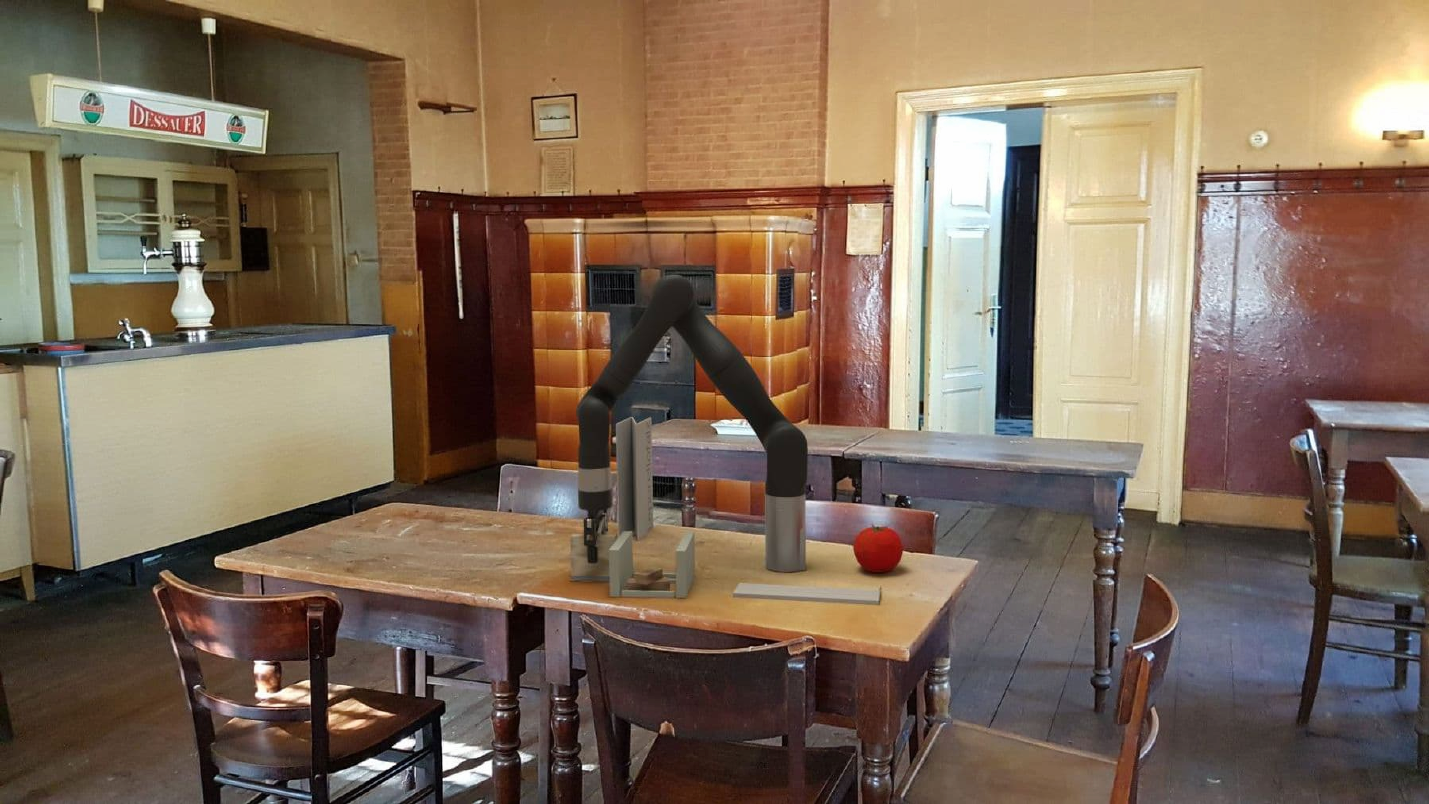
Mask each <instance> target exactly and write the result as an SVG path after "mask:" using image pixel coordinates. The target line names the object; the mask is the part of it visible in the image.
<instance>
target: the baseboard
mask: <svg viewBox="0 0 1429 804" xmlns="http://www.w3.org/2000/svg"><path fill="white" fill-rule="evenodd" d="M881 594H882V586H880V587H879V589H864V588H863V589H860V588H846V587H845V588H844V587H823V586H807V585H806V586H805V585H787V584H785V585H784V584H768V583H766V584H765V583H749V582H746V583H745V582H744V583H743V582H739V583H738V584H737V586H736V588H735V589H734V590H733V592H732V597H733V598H746V599H747V598H748V599H765V600H778V601H779V600H782V601H802V602H818V603H820V602H821V603H834V604H835V603H837V604H855V605H871V606H872V605H875V606H879V605H880V600H881Z"/></svg>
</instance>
